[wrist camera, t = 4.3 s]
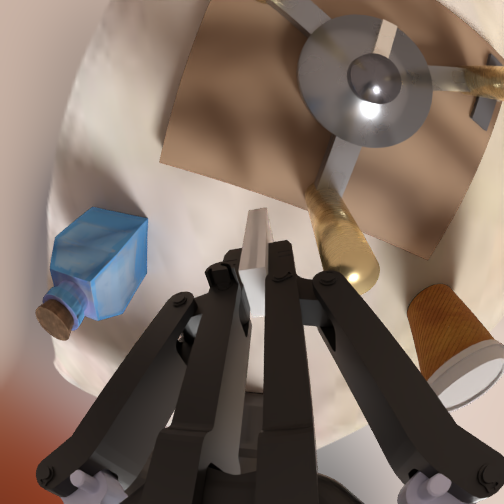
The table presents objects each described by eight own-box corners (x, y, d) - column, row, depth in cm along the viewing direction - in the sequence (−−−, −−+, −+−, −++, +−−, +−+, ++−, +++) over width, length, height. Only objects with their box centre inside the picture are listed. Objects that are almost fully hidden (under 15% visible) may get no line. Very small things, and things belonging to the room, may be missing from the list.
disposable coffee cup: (390, 341, 30) (415, 426, 20) (398, 280, 26) (442, 376, 15) (453, 324, 29) (488, 397, 18) (470, 264, 24) (525, 340, 14)
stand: (419, 249, 24) (435, 270, 20) (168, 156, 21) (150, 168, 18) (497, 66, 13) (522, 67, 10) (250, -63, 10) (246, -84, 7)
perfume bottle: (92, 206, 24) (11, 278, 14) (147, 218, 24) (76, 305, 14) (96, 259, 27) (35, 337, 17) (147, 272, 27) (95, 364, 17)
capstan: (411, 244, 21) (464, 325, 13) (195, 177, 19) (139, 242, 11) (477, 76, 13) (566, 89, 4) (254, -26, 11) (238, -103, 3)
